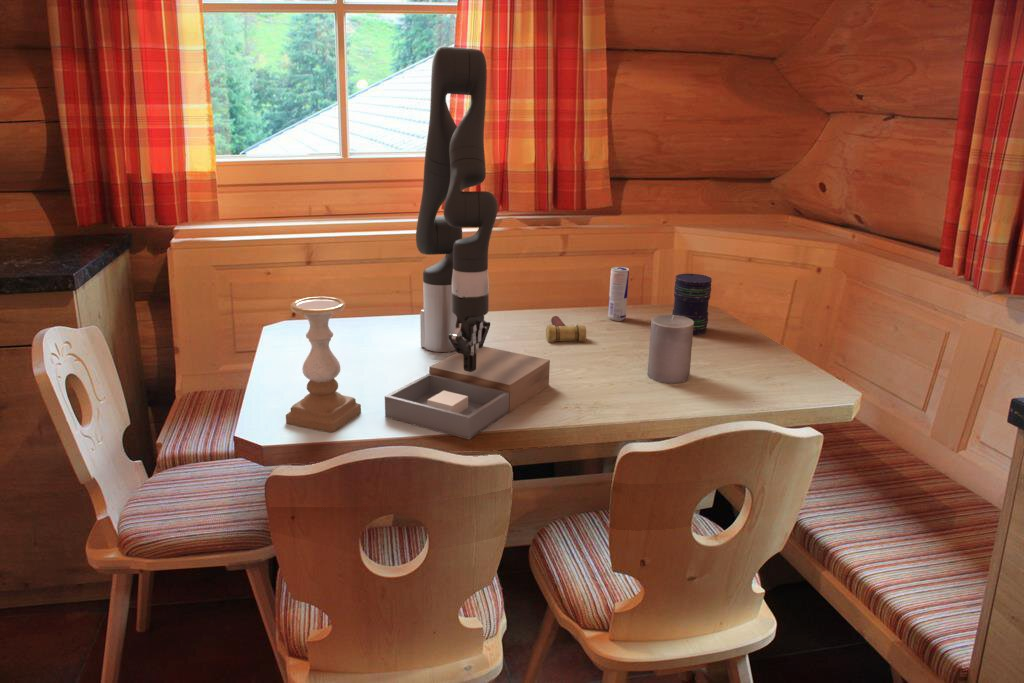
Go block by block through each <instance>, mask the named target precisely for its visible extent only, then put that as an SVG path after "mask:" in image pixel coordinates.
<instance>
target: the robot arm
mask: <svg viewBox="0 0 1024 683" xmlns="http://www.w3.org/2000/svg"><path fill="white" fill-rule="evenodd" d="M431 62H432V63H431V74H430V75H431V76H430V77H431V79H430V82H431V84H430V103H429V104H430V110H429V120H428V131H427V138H426V145H425V146H426V147H425V152H424V153H425V154H424V166H423V180H422V181H423V182H422V183H423V184H422V194H421V199H420V206H419V211H418V217H417V223H416V231H415V242H416V243H415V244H416V248H417V250H418V252H419V253H421V254H422V255H426V256H427V255H429V256H432V255H433V256H434V255H436V256H437V255H444V257H442V259H441V260H439V261H438V262H436V263H435V264H432V265H430V266H428V267H426V268H425V269H424V270H423V273H422V281H423V282H422V284H423V286H422V288H423V289H422V293H423V308H422V309H421V310H420V311H419V319H420V320H419V321H420V324H419V325H420V328H419V329H420V347H421V348H424V349H425V350H428V351H430V352H434V353H448V352H453V351H454V352H455V353H459V354H463V356H464V370H465V371H468V372H472V371H474V370H476V353H478V350H479V348H482V347H483V346H484V343H485V341H486V337H487V335H488V333H489V330H490V328H491V322H490V321H486V320H485V315H487V314H488V313H489V306H490V305H489V304H490V303H489V302H490V300H489V298H490V296H489V295H490V279H489V269H488V267H489V259H488V258H489V247H490V246H489V245H490V239H491V236H492V232H493V228H494V225H495V222H496V220H497V216H498V210H499V205H498V201H497V200H498V199H497V198H496V196H495V195H494V194H493V193H492V192H490V191H486V190H485V191H481V190H480V191H479V190H478V191H475V190H473V191H471V190H470V191H464V190H466V189H469V188H472V187H476V186H479V185H480V184H482V183H483V182H484V181H485V179H486V170H487V169H486V159H485V158H486V157H485V156H486V155H485V141H484V140H485V139H484V138H485V137H484V136H485V135H484V134H485V122H486V119H485V118H486V106H487V105H486V104H487V103H486V102H487V82H488V81H487V80H488V77H487V76H488V75H487V73H488V71H487V70H488V69H487V67H488V66H487V61H486V56H485V53H483V51H482V50H481V49H477V48H469V47H457V46H455V47H454V46H439V47H437V48H436V49H435V52H434V54H433V58H432V61H431ZM448 94H449V95H450V94H451V95H459V96H460V95H462V96H470V101H469V106H468V108H467V110H466V112H465V115H463V117H462V119H461V120H460V121H459V123H458V125H457V124H456V123H455V120H454V118H453V117H452V113H451V111H450V109H449V106H448V103H447V96H448ZM443 203H444V206H443V215H439V216H438V215H437V214H438V212H439V210H440V208H441V206H442V205H443ZM463 228H478V229H477V230H476V232H475V233H474V234H473V235H471V236H468V237H463Z"/></svg>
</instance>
